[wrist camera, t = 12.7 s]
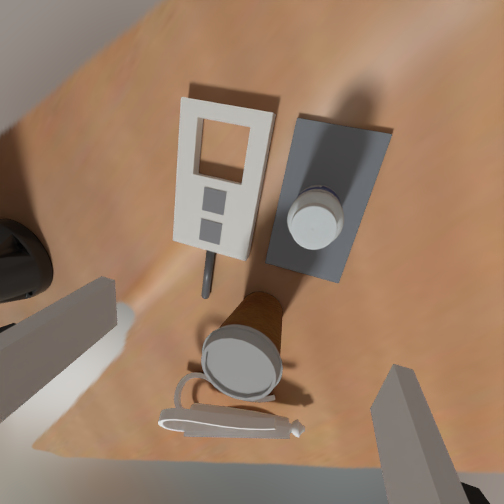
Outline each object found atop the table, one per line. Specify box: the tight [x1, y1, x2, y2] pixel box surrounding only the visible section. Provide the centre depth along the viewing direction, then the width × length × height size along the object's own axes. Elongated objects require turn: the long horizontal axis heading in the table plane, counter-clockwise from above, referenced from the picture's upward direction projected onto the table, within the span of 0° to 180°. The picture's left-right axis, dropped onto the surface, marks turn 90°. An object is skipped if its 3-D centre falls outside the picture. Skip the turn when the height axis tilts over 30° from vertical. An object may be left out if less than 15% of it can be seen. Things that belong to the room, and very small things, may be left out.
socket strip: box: [173, 97, 276, 299], centre depth 35 cm, size 27×11×2 cm, turn 170°
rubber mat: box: [265, 118, 392, 283], centre depth 31 cm, size 10×18×1 cm, turn 170°
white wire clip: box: [158, 372, 305, 439], centre depth 44 cm, size 17×9×22 cm
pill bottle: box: [287, 185, 344, 250], centre depth 27 cm, size 5×5×10 cm
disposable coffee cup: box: [201, 292, 283, 401], centre depth 34 cm, size 10×10×12 cm
